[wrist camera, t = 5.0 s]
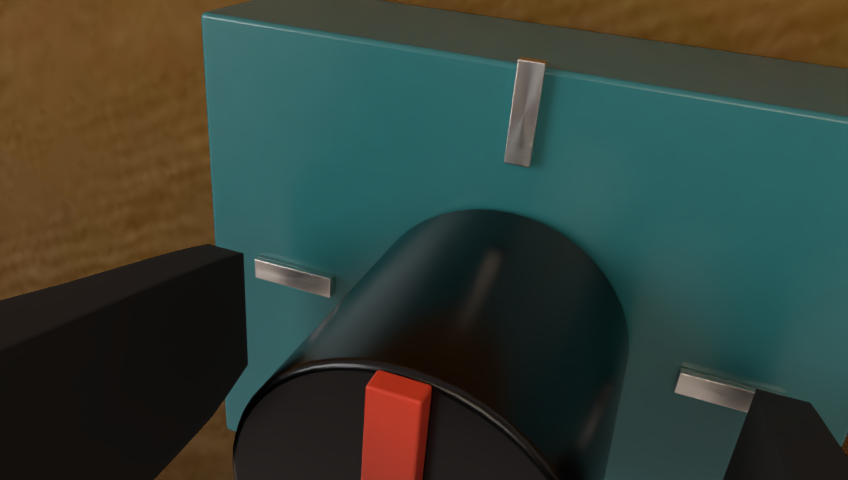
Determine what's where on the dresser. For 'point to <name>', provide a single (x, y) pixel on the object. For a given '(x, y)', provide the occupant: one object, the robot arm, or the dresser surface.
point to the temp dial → (451, 365)
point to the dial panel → (546, 193)
